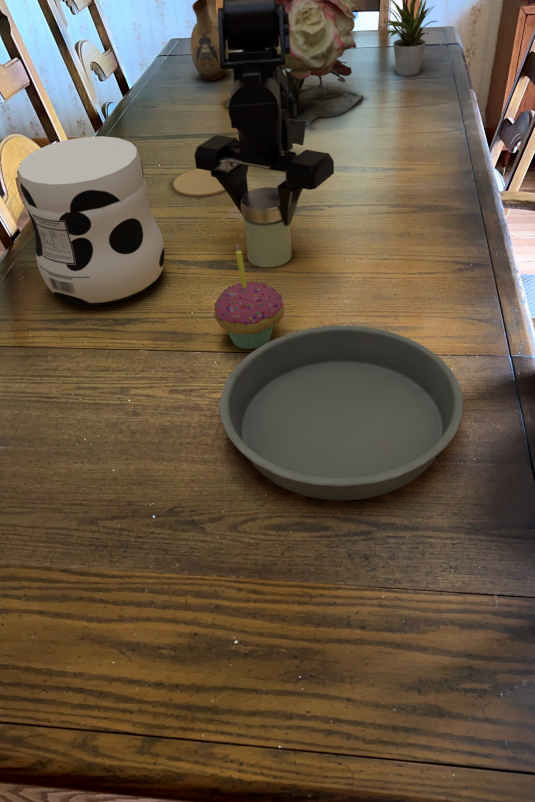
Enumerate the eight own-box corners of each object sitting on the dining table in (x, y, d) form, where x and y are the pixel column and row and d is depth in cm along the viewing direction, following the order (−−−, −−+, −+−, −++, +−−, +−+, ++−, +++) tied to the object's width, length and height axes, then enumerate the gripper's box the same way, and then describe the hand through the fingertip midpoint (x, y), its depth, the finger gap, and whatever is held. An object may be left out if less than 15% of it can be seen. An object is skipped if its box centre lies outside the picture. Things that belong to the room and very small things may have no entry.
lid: (232, 217, 99) (230, 203, 98) (258, 197, 103) (257, 183, 102) (274, 227, 96) (273, 212, 95) (299, 206, 100) (299, 191, 99)
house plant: (375, 61, 171) (377, -16, 160) (435, 59, 169) (440, -19, 158) (374, 81, 160) (376, -1, 149) (437, 79, 158) (443, -4, 147)
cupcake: (208, 330, 91) (196, 245, 83) (270, 311, 93) (263, 227, 85) (233, 367, 85) (221, 279, 77) (298, 346, 87) (293, 259, 79)
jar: (266, 241, 108) (262, 189, 102) (300, 252, 104) (298, 199, 99) (238, 259, 104) (232, 206, 99) (273, 271, 101) (268, 217, 95)
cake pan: (240, 355, 87) (236, 324, 84) (448, 356, 84) (451, 324, 81) (206, 511, 68) (200, 479, 65) (471, 520, 65) (477, 486, 62)
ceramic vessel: (201, 67, 177) (186, -50, 161) (237, 66, 176) (226, -53, 160) (188, 89, 165) (171, -36, 149) (227, 88, 164) (214, -39, 147)
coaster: (203, 165, 131) (203, 162, 131) (248, 177, 126) (248, 175, 125) (160, 187, 125) (160, 185, 125) (206, 201, 119) (206, 199, 119)
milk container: (165, 244, 109) (143, 126, 97) (173, 305, 96) (149, 176, 84) (50, 261, 108) (14, 143, 96) (43, 325, 95) (0, 197, 83)
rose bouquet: (300, 138, 138) (293, -43, 118) (213, 104, 156) (194, -57, 136) (393, 102, 149) (401, -68, 129) (302, 75, 167) (296, -78, 147)
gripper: (353, 94, 91) (352, 208, 101) (232, 79, 99) (242, 186, 110) (311, 124, 84) (314, 243, 94) (184, 106, 92) (200, 217, 103)
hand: (266, 220), depth 100 cm, fingers closed on lid, 6 cm apart
